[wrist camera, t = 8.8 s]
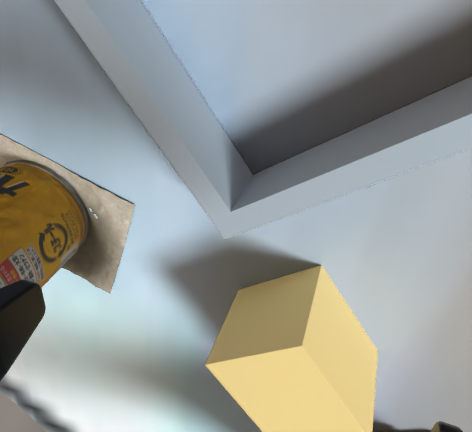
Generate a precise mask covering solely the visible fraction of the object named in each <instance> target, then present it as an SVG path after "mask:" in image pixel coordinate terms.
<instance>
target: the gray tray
mask: <svg viewBox="0 0 472 432" xmlns="http://www.w3.org/2000/svg"><path fill="white" fill-rule="evenodd" d="M54 1H55V2H56V4H57V5H58V7H59V8H60V9H61V11H62V12H63V14H64V15H65V16H66V18H67V19H68V21H69V22H70V23H71V25H72V26H73V28H74V29H75V30H76V32H77V33H78V35H79V36H80V37H81V39H82V40H83V42H84V43H85V44H86V46H87V47H88V49H89V50H90V51H91V53H92V54H93V56H94V57H95V58H96V60H97V61H98V63H99V64H100V65H101V67H102V68H103V70H104V71H105V72H106V74H107V75H108V77H109V78H110V79H111V81H112V82H113V84H114V85H115V86H116V88H117V89H118V91H119V92H120V93H121V95H122V96H123V98H124V99H125V100H126V102H127V103H128V105H129V106H130V107H131V109H132V110H133V112H134V113H135V115H136V116H137V117H138V119H139V120H140V122H141V123H142V124H143V126H144V127H145V129H146V130H147V131H148V133H149V134H150V136H151V137H152V138H153V140H154V141H155V143H156V144H157V145H158V147H159V148H160V150H161V151H162V152H163V154H164V155H165V157H166V158H167V159H168V161H169V162H170V164H171V165H172V166H173V168H174V169H175V171H176V172H177V173H178V175H179V176H180V178H181V179H182V180H183V182H184V183H185V185H186V186H187V187H188V189H189V190H190V192H191V193H192V194H193V196H194V197H195V199H196V200H197V201H198V203H199V204H200V206H201V207H202V208H203V210H204V211H205V213H206V214H207V215H208V217H209V218H210V220H211V221H212V222H213V224H214V225H215V227H216V228H217V229H218V231H219V232H220V234H221V235H222V236H223V238H224V239H228V238H230V237H233V236H236V235H238V234H241V233H244V232H247V231H249V230H252V229H255V228H257V227H260V226H263V225H265V224H268V223H271V222H274V221H276V220H279V219H282V218H284V217H287V216H290V215H293V214H295V213H298V212H301V211H303V210H306V209H309V208H312V207H314V206H317V205H320V204H322V203H325V202H328V201H331V200H333V199H336V198H339V197H341V196H344V195H347V194H349V193H352V192H355V191H358V190H360V189H363V188H366V187H368V186H371V185H374V184H377V183H379V182H382V181H385V180H387V179H390V178H393V177H396V176H398V175H401V174H404V173H406V172H409V171H412V170H415V169H417V168H420V167H423V166H425V165H428V164H431V163H433V162H436V161H439V160H442V159H444V158H447V157H450V156H452V155H455V154H458V153H461V152H463V151H466V150H469V149H471V148H472V76H471V77H469V78H467V79H464V80H462V81H460V82H458V83H455V84H453V85H451V86H449V87H447V88H444V89H442V90H440V91H438V92H435V93H433V94H431V95H429V96H427V97H424V98H422V99H420V100H418V101H416V102H413V103H411V104H409V105H407V106H404V107H402V108H400V109H398V110H396V111H393V112H391V113H389V114H387V115H384V116H382V117H380V118H378V119H376V120H373V121H371V122H369V123H367V124H365V125H362V126H360V127H358V128H356V129H353V130H351V131H349V132H347V133H345V134H342V135H340V136H338V137H336V138H333V139H331V140H329V141H327V142H325V143H322V144H320V145H318V146H316V147H313V148H311V149H309V150H307V151H305V152H302V153H300V154H298V155H296V156H294V157H291V158H289V159H287V160H285V161H282V162H280V163H278V164H276V165H274V166H271V167H269V168H267V169H265V170H262V171H260V172H258V173H256V174H254V175H253V174H252V173H251V171H250V170H249V168H248V167H247V165H246V163H245V162H244V160H243V159H242V157H241V156H240V154H239V153H238V151H237V149H236V148H235V146H234V145H233V143H232V142H231V140H230V139H229V137H228V135H227V134H226V132H225V131H224V129H223V128H222V126H221V125H220V123H219V121H218V120H217V118H216V117H215V115H214V114H213V112H212V111H211V109H210V107H209V106H208V104H207V103H206V101H205V100H204V98H203V97H202V95H201V94H200V92H199V90H198V89H197V87H196V86H195V84H194V83H193V81H192V80H191V78H190V76H189V75H188V73H187V72H186V70H185V69H184V67H183V66H182V64H181V62H180V61H179V59H178V58H177V56H176V55H175V53H174V52H173V50H172V48H171V47H170V45H169V44H168V42H167V41H166V39H165V38H164V36H163V34H162V33H161V31H160V30H159V28H158V27H157V25H156V24H155V22H154V21H153V19H152V17H151V16H150V14H149V13H148V11H147V10H146V8H145V7H144V5H143V3H142V2H141V0H54Z"/></svg>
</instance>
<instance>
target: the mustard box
mask: <svg viewBox="0 0 472 432" xmlns="http://www.w3.org/2000/svg"><path fill="white" fill-rule="evenodd" d="M377 356H378V350H377V349H376V347H375V346H374V344H373V343H372V341H371V340H370V338H369V337H368V335H367V334H366V332H365V331H364V329H363V328H362V326H361V324H360V323H359V321H358V320H357V318H356V317H355V315H354V314H353V312H352V311H351V309H350V308H349V306H348V305H347V303H346V301H345V300H344V298H343V297H342V295H341V294H340V292H339V291H338V289H337V288H336V286H335V285H334V283H333V282H332V280H331V279H330V277H329V275H328V274H327V272H326V271H325V269H324V268H323V266H322V265H320V266H316V267H313V268H310V269H306V270H303V271H300V272H296V273H293V274H290V275H286V276H283V277H280V278H276V279H273V280H270V281H266V282H263V283H260V284H256V285H253V286H250V287H246V288H243V289H240V290H238V292H237V294H236V296H235V299H234V301H233V303H232V305H231V308H230V310H229V312H228V314H227V316H226V319H225V321H224V323H223V325H222V328H221V330H220V332H219V334H218V337H217V339H216V341H215V343H214V346H213V348H212V350H211V352H210V355H209V357H208V359H207V361H206V364H205V366H206V367H207V368H208V369H209V370H210V371H211V372H212V374H213V375H214V376H215V377H216V378H217V379H218V381H219V382H220V383H221V384H222V385H223V386H224V388H225V389H226V390H227V391H228V392H229V393H230V395H231V396H232V397H233V398H234V399H235V400H236V402H237V403H238V404H239V405H240V406H241V407H242V409H243V410H244V411H245V412H246V413H247V414H248V416H249V417H250V418H251V419H252V420H253V421H254V423H255V424H256V425H257V426H258V427H259V428H260V430H261V431H262V432H372V430H373V416H374V401H375V386H376V371H377Z"/></svg>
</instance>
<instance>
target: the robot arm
mask: <svg viewBox="0 0 472 432" xmlns="http://www.w3.org/2000/svg"><path fill="white" fill-rule="evenodd" d="M45 308H46V307H45V302H44V298H43V293H42V289H41V286H40V285H39V284H38V283H36V282H33V281H30V280H26V279H22V280H18V281H16V282H14V283H11V284H9V285H6V286H4V287H2V288H0V381H1V380H2V378H3V377H4V376H5V374H6V373H7V372H8V370H9V369H10V367H11V366H12V364H13V363H14V361H15V360H16V358H17V357H18V355H19V354H20V352H21V350H22V349H23V347H24V346H25V344H26V343H27V341H28V340H29V338H30V337H31V335H32V333H33V332H34V330H35V329H36V327H37V326H38V324H39V323H40V321H41V319H42V318H43V316H44V313H45ZM430 432H463V431H462V430H461V429H460V428H458V427H456V426H453V425H450V424H447V423H445V422H441V421H439V422H437V423H436V424H435V425H434V427H433V428H432V430H431V431H430Z"/></svg>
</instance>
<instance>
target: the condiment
mask: <svg viewBox="0 0 472 432" xmlns="http://www.w3.org/2000/svg"><path fill="white" fill-rule="evenodd" d="M89 208H91V209H92V211H93V212H90V210H89ZM134 208H135V205H133V204H131V203H129V202H128V201H125V200H122V199H121V198H119V197H117V196H115V195H114V194H112V193H111V192H108V191H106V190H103V189H101V188H99V187H97V186H96V185H94V184H92V183H91V182H89V181H87V180H84V179H82V178H80V177H79V176H78V175H76V174H74V173H72V172H70V171H69V170H67V169H65V168H64V167H62V166H60V165H58V164H57V163H55V162H53V161H51V160H49V159H47V158H45V157H43V156H41V155H39V154H37V153H36V152H34V151H32V150H30V149H28V148H26V147H24V146H23V145H21V144H18V143H16V142H14V141H12V140H11V139H9V138H7V137H5V136H3V135H1V134H0V288H2V287H4V286H6V285H9V284H11V283H14V282H16V281H18V280H22V279H26V280H30V281H33V282H36V283H38V284H39V285H40V286H41V288H42V287H43V286H44V284H46V283H47V282H48V281H49V279H50V278H51V277H52V276H53V275H54V274H55V273H56V272H57V271H58V270H59V269H60V268H64V269H67V270H69V271H71V272H72V273H74V274H77V275H79V276H81V277H82V278H84V279H86V280H88V281H89V282H90V283H92V284H93V285H94V286H96V287H98V288H101V289H103V290H105V291H106V292H108V293H110V292H111V289H112V285H113V283H114V280H115V277H116V273H117V269H118V266H119V264H120V260H121V256H122V253H123V249H124V246H125V243H126V238H127V234H128V230H129V227H130V224H131V219H132V215H133V212H134ZM94 214H96V215H97V217H98V219H96V218H95V216H94Z"/></svg>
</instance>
